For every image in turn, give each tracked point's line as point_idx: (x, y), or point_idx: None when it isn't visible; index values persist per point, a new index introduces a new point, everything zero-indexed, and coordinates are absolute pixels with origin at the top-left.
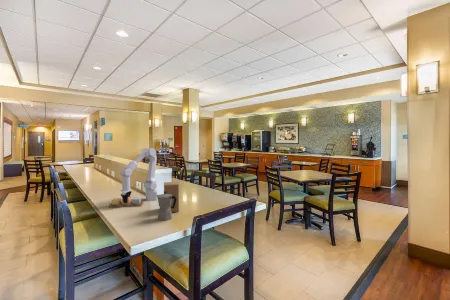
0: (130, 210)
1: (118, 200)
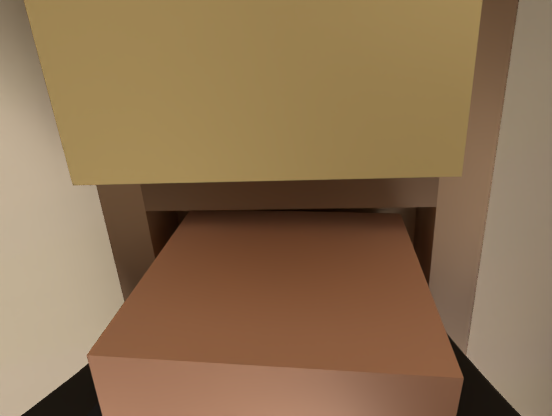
0: (21, 395)
1: (84, 167)
